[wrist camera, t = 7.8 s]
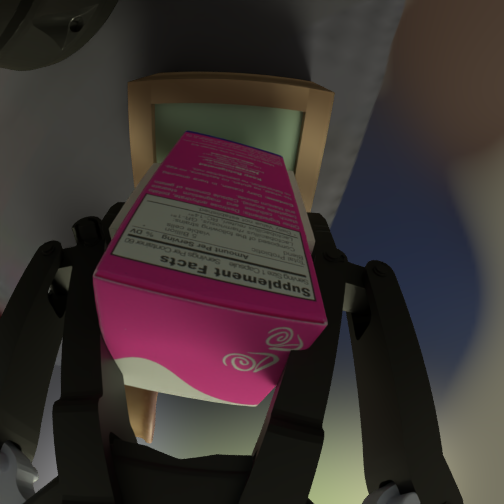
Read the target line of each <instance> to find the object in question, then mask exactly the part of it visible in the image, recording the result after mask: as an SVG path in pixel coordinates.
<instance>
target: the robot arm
mask: <svg viewBox="0 0 504 504" xmlns="http://www.w3.org/2000/svg"><path fill="white" fill-rule="evenodd" d="M117 1H118V0H0V68H5V69H10V70H16V71H28V70H34V69H38V68H42V67H46V66H50V65H53V64H55V63H58V62H60V61H62V60H64V59H66V58H67V57H69V56H70V55H72V54H73V53H75V52H76V51H78V50H79V49H80V48H81V47H82V46H84V45H85V44H86V43H87V42H88V41H89V40H90V39H91V38H92V37H93V36H94V35H95V34H96V32H97V31H98V30H99V29H100V28H101V26H102V25H103V24H104V22H105V21H106V20H107V18H108V17H109V15H110V14H111V12H112V10H113V9H114V7H115V5H116V3H117ZM160 164H161V163H153V165H152V166H151V167H150V169H149V170H148V171H147V173H146V174H145V175H144V177H143V178H142V180H141V181H140V182H139V184H138V185H137V187H136V188H135V189H134V191H133V192H132V194H131V195H130V197H129V198H128V200H127V201H126V202H118V203H116V204H115V205H113V206H112V207H111V208H110V209H109V210H108V212H107V213H106V215H105V216H104V218H103V219H102V221H101V219H99V218H98V217H94V216H90V217H85V218H82V219H80V220H78V221H77V222H76V223H75V224H74V225H73V227H72V230H73V233H74V237H75V240H76V243H77V246H75V247H71V248H65V249H62V246H61V243H60V242H58V241H49V242H46V243H44V244H43V245H42V246H40V247H39V249H38V250H37V251H36V253H35V255H34V256H33V258H32V259H31V261H30V263H29V265H28V266H27V268H26V270H25V271H24V273H23V275H22V277H21V279H20V280H19V282H18V284H17V286H16V288H15V290H14V292H13V294H12V296H11V298H10V300H9V302H8V304H7V306H6V308H5V310H4V312H3V314H2V316H1V318H0V504H314V503H313V502H312V501H311V500H310V499H309V498H308V495H309V492H310V489H311V485H312V482H313V479H314V475H315V472H316V468H317V465H318V461H319V457H320V454H321V450H322V446H323V440H324V430H323V428H322V423H323V418H324V414H325V409H326V405H327V400H328V395H329V391H330V386H331V380H332V375H333V370H334V364H335V358H336V352H337V345H338V339H339V333H340V326H341V319H342V311H343V310H344V311H346V314H347V320H348V326H349V332H350V338H351V345H352V351H353V358H354V366H355V373H356V381H357V388H358V398H359V407H360V418H361V429H362V442H363V461H364V473H365V480H366V485H367V489H368V492H369V495H368V496H367V497H366V498H365V499H364V501H363V503H362V504H463V499H462V496H461V494H460V492H459V489H458V487H457V485H456V483H455V480H454V478H453V476H452V473H451V471H450V469H449V467H448V465H447V463H446V461H445V458H444V456H443V452H442V445H441V439H440V432H439V426H438V421H437V415H436V410H435V405H434V401H433V396H432V392H431V387H430V383H429V379H428V375H427V371H426V367H425V364H424V360H423V356H422V353H421V349H420V346H419V343H418V339H417V336H416V333H415V330H414V326H413V323H412V320H411V317H410V314H409V311H408V309H407V306H406V303H405V300H404V297H403V294H402V292H401V289H400V286H399V284H398V281H397V278H396V276H395V273H394V272H393V270H392V268H391V267H390V266H388V265H387V264H386V263H383V262H381V261H378V260H372V261H369V262H368V263H367V265H366V266H365V267H362V266H359V265H355V264H352V263H350V262H348V260H347V257H346V255H345V254H344V253H343V252H342V251H340V250H339V249H337V248H336V245H335V243H334V240H333V237H332V235H331V233H330V229H329V227H328V224H327V222H326V219H325V218H324V217H323V216H322V215H321V214H320V213H310V212H306V209H305V206H304V203H303V200H302V197H301V194H300V190H299V187H298V184H297V181H296V179H295V176H294V173H293V171H288V170H287V172H288V175H289V179H290V182H291V186H292V189H293V192H294V196H295V199H296V203H297V206H298V209H299V213H300V216H301V220H302V223H303V227H304V231H305V234H306V237H307V242H308V246H309V250H310V253H311V257H312V261H313V264H314V268H315V272H316V276H317V280H318V284H319V289H320V293H321V297H322V301H323V305H324V309H325V313H326V317H327V322H328V325H327V326H326V327H325V329H324V330H323V331H322V333H321V334H320V335H319V336H318V337H317V339H316V340H315V341H314V342H313V344H312V345H311V346H310V347H309V348H307V349H304V350H291V351H290V354H289V356H288V359H287V362H286V364H285V367H284V369H283V372H282V374H281V376H280V379H279V381H278V383H277V386H276V389H275V392H274V395H273V398H272V401H271V404H270V407H269V410H268V413H267V416H266V419H265V421H264V424H263V427H262V430H261V433H260V435H259V438H258V440H257V443H256V445H255V448H254V450H253V453H252V455H251V456H250V455H248V456H247V455H244V456H243V455H219V454H216V455H210V456H204V457H197V458H188V459H177V458H175V457H172V456H169V455H167V454H164V453H162V452H159V451H157V450H155V449H152V448H150V447H148V446H145V445H140V444H138V443H137V439H136V436H135V434H134V431H133V429H132V427H131V424H130V420H129V414H128V407H127V401H126V394H125V386H124V378H123V374H122V372H121V371H120V369H119V367H118V366H117V364H116V362H115V360H114V359H113V357H112V355H111V353H110V351H109V350H108V348H107V346H106V343H105V341H104V339H103V336H102V333H101V330H100V327H99V320H98V314H97V309H96V303H95V295H94V287H93V274H94V271H95V269H96V267H97V265H98V263H99V262H100V260H101V258H102V256H103V254H104V252H105V251H106V249H107V247H108V245H109V244H110V242H111V240H112V238H113V237H114V235H115V233H116V231H117V230H118V228H119V226H120V225H121V223H122V221H123V220H124V218H125V217H126V215H127V213H128V212H129V210H130V209H131V207H132V206H133V204H134V203H135V201H136V200H137V198H138V196H139V195H140V193H141V192H142V190H143V189H144V187H145V186H146V185H147V183H148V182H149V180H150V179H151V177H152V176H153V174H154V173H155V171H156V170H157V169H158V167H159V166H160ZM49 287H50V288H51V290H50V292H49V294H48V290H49ZM62 337H63V342H62V360H61V397H60V399H59V400H57V401H55V402H54V405H53V411H52V415H53V416H52V417H53V434H54V446H55V455H56V463H57V470H58V476H57V477H56V478H54V479H53V480H52V481H51V482H50V483H48V484H47V485H46V486H44V487H43V488H42V489H40V490H39V491H38V492H37V493H35V492H34V488H33V482H35V481H37V480H38V472H37V470H36V469H35V467H33V465H32V460H33V458H34V455H35V452H36V448H37V445H38V439H39V434H40V428H41V422H42V416H43V411H44V406H45V401H46V397H47V392H48V388H49V384H50V379H51V376H52V372H53V368H54V364H55V361H56V357H57V354H58V350H59V347H60V344H61V340H62Z"/></svg>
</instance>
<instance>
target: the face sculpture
mask: <svg viewBox="0 0 504 504" xmlns="http://www.w3.org/2000/svg"><path fill="white" fill-rule="evenodd" d="M124 386H125V394H126V401H127V407H128V414H129V420H130V424H131V427H132V429H133V431H134V434H135V436H136V437H140V438H143V439H144V440H145V441H146V442H147V443H151V442H152V440H153V435H154V428H155V411H156V400H157V394H158V392H156V391H151V390H147V389H142V388H138V387H133V386H129V385H125V384H124Z"/></svg>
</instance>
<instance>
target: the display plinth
mask: <svg viewBox="0 0 504 504" xmlns="http://www.w3.org/2000/svg"><path fill="white" fill-rule="evenodd" d="M334 94H335V93H334V92H332V91H330V90H328V89H326V88H324V87H322V86H320V85H318V84H316V83H314V82H311V81H306V80H299V79H293V78H286V77H278V76H269V75H259V74H247V73H230V72H166V73H157V74H154V75H150V76H146V77H143V78H140V79H136V80H133V81H130V82H128V113H129V132H130V146H131V158H132V168H133V177H134V186H135V188H136V187H137V185H138V184H139V182H140V181H141V180H142V178H143V177H144V175H145V174H146V173H147V171H148V170H149V169H150V167H151V166H152V165H153V163H162V162H163V160H164V159H165V158H166V156H167V155H168V154H169V152H170V151H171V149H172V148H173V147H174V145H175V144H176V143H177V142H178V140H179V139H180V138H181V136H182V135H183V134H184V132H185V131H186V130H188V131H193V132H198V133H202V134H207V135H211V136H215V137H219V138H223V139H227V140H230V141H234V142H238V143H241V144H245V145H248V146H252V147H255V148H258V149H262V150H265V151H268V152H271V153H275V154H278V155H281V156H282V157H283V160H284V163H285V166H286V169H287V170H288V171H293V173H294V176H295V179H296V181H297V184H298V187H299V190H300V194H301V197H302V200H303V203H304V206H305V209H306V212H310V211H311V207H312V202H313V198H314V194H315V189H316V185H317V180H318V176H319V171H320V166H321V161H322V157H323V152H324V147H325V142H326V137H327V132H328V127H329V121H330V116H331V111H332V105H333V100H334Z"/></svg>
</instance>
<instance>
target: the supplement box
mask: <svg viewBox="0 0 504 504" xmlns="http://www.w3.org/2000/svg"><path fill="white" fill-rule="evenodd" d="M93 287H94V295H95V303H96V309H97V314H98V320H99V327H100V330H101V333H102V336H103V339H104V341H105V343H106V346H107V348H108V350H109V351H110V353H111V355H112V357H113V359H114V360H115V362H116V364H117V366H118V367H119V369H120V371H121V372H122V374H123V378H124V384H125V385H129V386H133V387H138V388H142V389H147V390H151V391H156V392H162V393H167V394H172V395H177V396H183V397H188V398H194V399H200V400H206V401H212V402H219V403H226V404H234V405H242V406H243V405H244V406H257V405H258V404H259V403H260V402H261V401H262V400H263V399H264V398H265V397H266V395H268V394H269V393H270V391H271V390H272V389H273V388H274V387H275V386H276V385H277V383H278V381H279V379H280V376H281V374H282V372H283V369H284V367H285V364H286V362H287V359H288V356H289V354H290V351H291V350H304V349H307V348H309V347H310V346H311V345H312V344H313V342H314V341H315V340H316V339H317V337H318V336H319V335H320V334H321V333H322V331H323V330H324V329H325V327H326V326H327V325H328V322H327V317H326V313H325V309H324V305H323V301H322V297H321V293H320V289H319V284H318V280H317V276H316V272H315V268H314V264H313V261H312V257H311V253H310V250H309V246H308V242H307V237H306V234H305V231H304V227H303V223H302V220H301V216H300V213H299V209H298V206H297V203H296V199H295V196H294V192H293V189H292V186H291V182H290V179H289V175H288V172H287V169H286V166H285V163H284V160H283V157H282V156H281V155H278V154H275V153H271V152H268V151H265V150H262V149H258V148H255V147H252V146H248V145H245V144H241V143H238V142H234V141H230V140H227V139H223V138H219V137H215V136H211V135H207V134H202V133H198V132H193V131H188V130H186V131H185V132H184V134H183V135H182V136H181V138H180V139H179V140H178V142H177V143H176V144H175V145H174V147H173V148H172V149H171V151H170V152H169V154H168V155H167V156H166V158H165V159H164V160H163V162H162V163H161V164H160V166H159V167H158V169H157V170H156V171H155V173H154V174H153V176H152V177H151V179H150V180H149V182H148V183H147V185H146V186H145V187H144V189H143V190H142V192H141V193H140V195H139V196H138V198H137V200H136V201H135V203H134V204H133V206H132V207H131V209H130V210H129V212H128V213H127V215H126V217H125V218H124V220H123V221H122V223H121V225H120V226H119V228H118V230H117V231H116V233H115V235H114V237H113V238H112V240H111V242H110V244H109V245H108V247H107V249H106V251H105V252H104V254H103V256H102V258H101V260H100V262H99V263H98V265H97V267H96V269H95V271H94V274H93Z"/></svg>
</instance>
